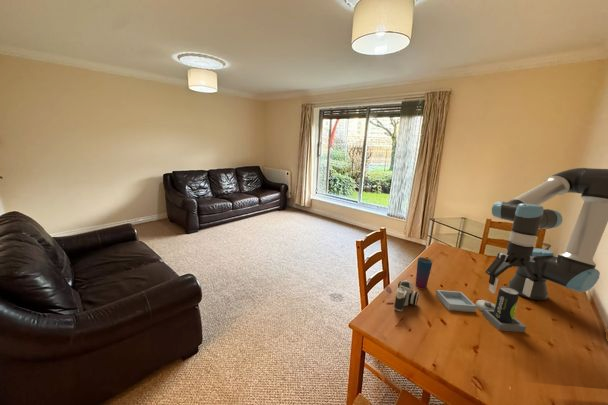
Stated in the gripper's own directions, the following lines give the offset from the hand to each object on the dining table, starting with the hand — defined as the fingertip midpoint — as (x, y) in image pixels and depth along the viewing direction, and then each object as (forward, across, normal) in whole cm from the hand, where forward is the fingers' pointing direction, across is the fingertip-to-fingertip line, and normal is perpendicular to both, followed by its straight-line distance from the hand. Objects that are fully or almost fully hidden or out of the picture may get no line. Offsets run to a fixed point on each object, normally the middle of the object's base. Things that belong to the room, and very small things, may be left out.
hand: (508, 293), depth 100 cm
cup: (+14, +22, -25) cm, 36 cm away
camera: (+14, +36, -9) cm, 40 cm away
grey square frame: (+13, -1, 0) cm, 13 cm away
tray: (+14, +12, -12) cm, 22 cm away
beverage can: (+14, 0, 0) cm, 14 cm away
